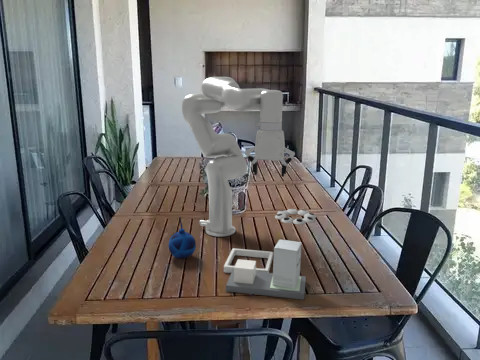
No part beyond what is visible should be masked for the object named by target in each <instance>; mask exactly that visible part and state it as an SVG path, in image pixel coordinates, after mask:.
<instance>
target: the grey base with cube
mask: <svg viewBox="0 0 480 360" xmlns="http://www.w3.org/2000/svg"><path fill="white" fill-rule="evenodd" d="M234 266H235V267H234V269H233V271H232V273H230V275H229V278H228V280H227V282H226V284H225V291H226V292H231V293H239V294H248V295H249V294H250V295H259V296H266V297H267V296H269V297H274V298H275V297H278V298H287V299H293V300H294V299H297V300H305V295H306V293H305V292H306V280H307V279H306V277H307V276H305V275H300V278H299V280H298V282H297V285H296V288H295V289H292V288H286V287H281V286H276V285H272V284H273V272H269V273H266V272H256V268H257V260H252V259H251V260H250V259H249V260H247V259H239V258H238V259H237V260H236V263H235V264H234Z"/></svg>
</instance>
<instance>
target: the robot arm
mask: <svg viewBox="0 0 480 360" xmlns="http://www.w3.org/2000/svg"><path fill="white" fill-rule="evenodd" d="M200 87H201V92H198V93H190V94H187V95H186V96H185V97H184V98H183V99H182V101H181V113H182V115H183V118H184V120H185V122H186V124H187V125H188V127H189V128H190V129H191V131H192V134H193V137H194V139H195V141H196V144H197V145H198V147H199V150H200V152H201V154H202V155H203V157H205V158H207V159H211V160H210V161H208V162H207V164H206V166H205V171H206V172H205V173H206V178H207V184H208V212H209V213H208V219H207V220H204V219H200V220H199V225H200V226H201V227H205V233H206V234H207V235H209V236H212V237H219V238H223V237H229V236H232V235H234V234H235V233H236V227H235V226H234V225H232V224H233V191H232V188H231V186H230V184H229V183H228V181H230V180H234V179H238V178H243V177H244V176H246V173H247V171H248V169H247V168H248V165H247V161H246V159H245V157H244V154H243V152H242V150H241V148H240V146H239V144H238V141H237V140H236V138H235V137H234V136H233V135H232V134H230V133H227V132H226V133H225V132H224V133H217V132H216V131H215V129H214V126H213V125H212V123H211V122H210V121H209V119H207V118H206V117H204V116H203V115H206V114H215V113H216V114H217V113H219V112H221V111H222V110H224V109H225V107H226V108H229V109H233V110H235V111H239V112H249V111H250V112H251V111H259V122H255V127H256V128H259V129H258V130H257V132H256V136H255V144H254V145H255V146H253V147H250V148H248V149H247V150H245V155H246V157H247V159H248V160H249V162H250V163H251V164H252V173H254V174H253V175H254V176H257V175H258V168H259V167H258V164H259V163H258V161H259V160H260V161H275V162H276V161H278V162H279V161H280V162H281V163H282V164H281V177H282V178H283V177H285V175H287V166H288V164H289V163H291V162H292V160H293V159H294V157H295V155H296V152H295V151H292V150H290V149H289V148H287V147H286V146H285V145H286V144H285V132H284V130H282V129H283V128H282V125H283V102H284V101H283V97H284V95H283V92H282V91H281V90H278V89H267V88H261V87H259V88H240V85H239V84H238V83H237V82H236V81H235V79H234V78H232V77H230V76H211V77H208V78H207V77H206V79H204V80H203V81H202V83H201V86H200ZM202 114H203V115H202ZM253 152H254V157H253V156H252V154H251V153H253ZM285 153H287V154H288V155H289V156H288V158H287V159H286V158H285ZM212 158H213V159H212Z"/></svg>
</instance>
